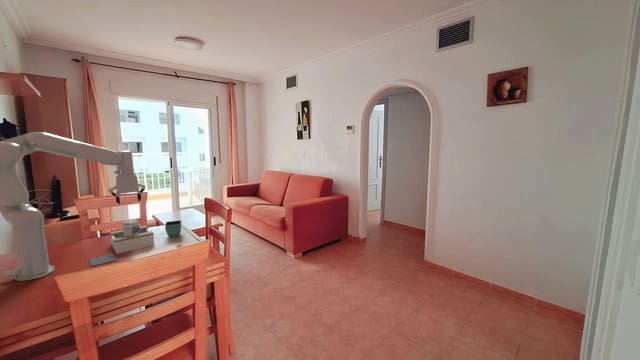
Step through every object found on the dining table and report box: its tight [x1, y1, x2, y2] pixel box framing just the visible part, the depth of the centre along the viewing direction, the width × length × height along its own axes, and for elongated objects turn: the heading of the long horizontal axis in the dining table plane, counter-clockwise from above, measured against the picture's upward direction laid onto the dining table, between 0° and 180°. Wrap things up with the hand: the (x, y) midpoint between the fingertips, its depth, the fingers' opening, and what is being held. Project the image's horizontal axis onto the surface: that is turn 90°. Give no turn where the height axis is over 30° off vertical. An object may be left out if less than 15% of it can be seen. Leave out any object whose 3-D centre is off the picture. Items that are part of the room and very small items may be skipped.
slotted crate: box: [109, 225, 155, 255], centre depth 156 cm, size 18×18×8 cm
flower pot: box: [164, 219, 182, 239], centre depth 171 cm, size 9×9×9 cm
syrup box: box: [122, 219, 140, 237], centre depth 156 cm, size 6×6×14 cm
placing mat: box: [89, 253, 118, 267], centre depth 136 cm, size 10×10×1 cm
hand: (129, 202), depth 153 cm, fingers open, 9 cm apart
